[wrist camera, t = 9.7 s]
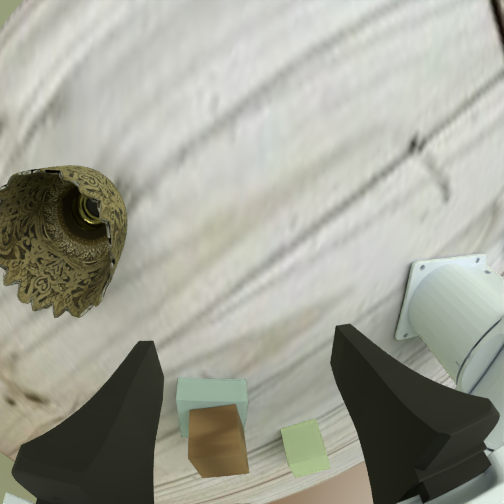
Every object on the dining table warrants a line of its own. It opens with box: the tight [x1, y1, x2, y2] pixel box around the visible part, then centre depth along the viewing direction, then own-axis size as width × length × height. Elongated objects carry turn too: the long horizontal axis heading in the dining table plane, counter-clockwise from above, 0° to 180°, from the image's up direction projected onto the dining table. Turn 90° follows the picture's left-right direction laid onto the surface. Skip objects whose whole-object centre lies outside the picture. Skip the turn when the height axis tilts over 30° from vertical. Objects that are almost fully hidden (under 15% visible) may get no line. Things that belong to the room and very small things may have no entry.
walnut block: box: [188, 404, 249, 478], centre depth 22 cm, size 4×4×5 cm
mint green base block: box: [176, 378, 248, 437], centre depth 26 cm, size 6×6×3 cm
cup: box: [0, 165, 127, 318], centre depth 15 cm, size 8×7×8 cm
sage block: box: [281, 419, 330, 478], centre depth 29 cm, size 4×4×5 cm
